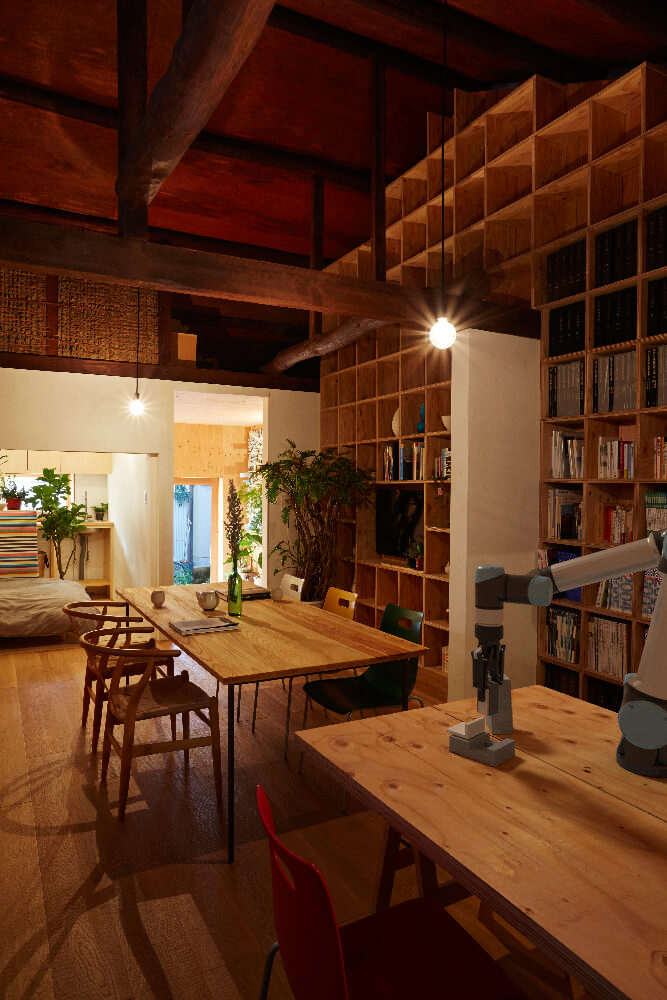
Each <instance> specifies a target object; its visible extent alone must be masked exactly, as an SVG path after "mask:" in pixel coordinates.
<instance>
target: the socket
mask: <svg viewBox="0 0 667 1000" xmlns="http://www.w3.org/2000/svg"><path fill="white" fill-rule="evenodd" d="M490 734H491V731H487V730H485V731H484V732H482V733H480V734H478V735H476V736H474V737H472V738H470V739H466V738H463V737H460V736H457V735H454V734H450V735H449V737H448V740H449V741H448V742H449V743H448V745H449V747H448V748H449V749H448V751H450V752H452V753H456V754H458V755H461V756H463V757H467V758H470V759H473V760H475V761H478V762H481V763H484V764H487V765H488V766H493V767H498V765H500V764H501V763H504V762H505V761H507V760H509V759H511V758H512V757H514V756H516V740H515V739H513V738H509V737H507V738H504V739H502V740H501V741H499V742H498V741H495V740H492V739H491V737H490V736H491V735H490Z"/></svg>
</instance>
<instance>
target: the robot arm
mask: <svg viewBox="0 0 667 1000" xmlns="http://www.w3.org/2000/svg"><path fill="white" fill-rule="evenodd" d="M654 568H657V569H656V571H657V574H658V575H659V577H660V578H661V583H660V585H659V590H658V594H657V597H656V601H655V605H654V609H653V612H652V616H651V619H650V625H649V627H648V631H647V634H646V639H645V643H644V646H643V650H642V653H641V658H640V662H639V665H638V668H637V672H634V673H633V672H631V673H627V674H625V675H624V677H623V682H622V683H623V698H622V702H621V705H620V709H619V710H618V713H617V723H618V727H619V731H620V732H621V736H620V740H619V742H618V745H617V747H616V750H615V761H616V763H617V764H618V765H619V766H620V767H621V768H623V769H625V770H627V771H629V772H632V773H634V774H638V775H642V776H647V777H651V778H652V777H653V778H667V527H664V528H662V529H659V530H655V531H652V532H650V534H649V535H648V537H646V538H642V539H639V540H635V541H632V542H627V543H625V544H621V545H617V546H613V547H610V548H608V549H603V550H600V551H597V552H593V553H589V554H586V555H582V556H578V557H575V558H572V559H569V560H566V561H562V562H561V561H560V562H558V563H554V564H551V565H548V566H544V567H541V568H540V567H539V568H534V569H531V570H529V571H528V572H526V573H525V574H511V573H506V572H505V567H504V566H503V565H498V564H497V565H496V564H481V565H478V566H477V567H476V568H475V574H474V575H475V577H474V621H475V624H474V634H473V635H474V638H476V639H477V640H478V641H477V642H478V643H477V647H476V650H471V652H470V655H471V659H472V662H471V663H472V687H473V688H474V689H475V688H476V689H477V688H478V712H479V713H478V712H477V713H478V714H482V715H485V714H486V715H488V714H489V690H488V689H487V683H488V674H489V676H491V681H495V682H498V683H499V685H502V684H503V682H500V681H503V680H504V673H505V651H506V648H507V645H506V643H501V642H500V641H502V640H503V639H504V634H505V633H504V631H505V629H504V625H503V624H504V623H505V613H504V612H505V611H504V608H505V603H507V604H516V605H517V604H518V605H526V606H534V607H548V606H550V605H551V604H552V600H553V595H554V594H559V593H561V592H566V591H569V590H573V589H576V588H580V587H583V586H588V585H592V584H595V583H600V582H603V581H608V580H612V579H615V578H619V577H623V576H626V575H630V574H634V573H639V572H642V571H646V570H650V569H654ZM486 715H485V716H486Z"/></svg>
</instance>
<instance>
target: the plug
mask: <svg viewBox="0 0 667 1000" xmlns="http://www.w3.org/2000/svg"><path fill="white" fill-rule="evenodd" d="M476 689H477V690H476V693H477V695H476V712H477V713H478V714H480V713H479V712H478V688H476ZM487 689H488V690H489V714H488V716H491V715H494V714H496V713H498V698H499V683H498V682H495V681H491V676H488V683H487ZM484 715H485V716H486V714H484Z"/></svg>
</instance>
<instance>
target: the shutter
mask: <svg viewBox="0 0 667 1000" xmlns="http://www.w3.org/2000/svg"><path fill="white" fill-rule="evenodd" d="M485 724H486V716H480V717H478V718H475V719H473V720H471V721H469V722H465V721H462V722H460V723H457V724H454V725H453V726H452V725H451V726H450V727H447V728H446V729H445V732H446V733H449V734H450V735H452V734H454V735H457V736H460V737H463V738H466V739H470V738H472V737H474V736H476V735H478V734H480V733H482V732H484V731H486V730H485V728H486V727H485V726H486V725H485Z"/></svg>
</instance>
